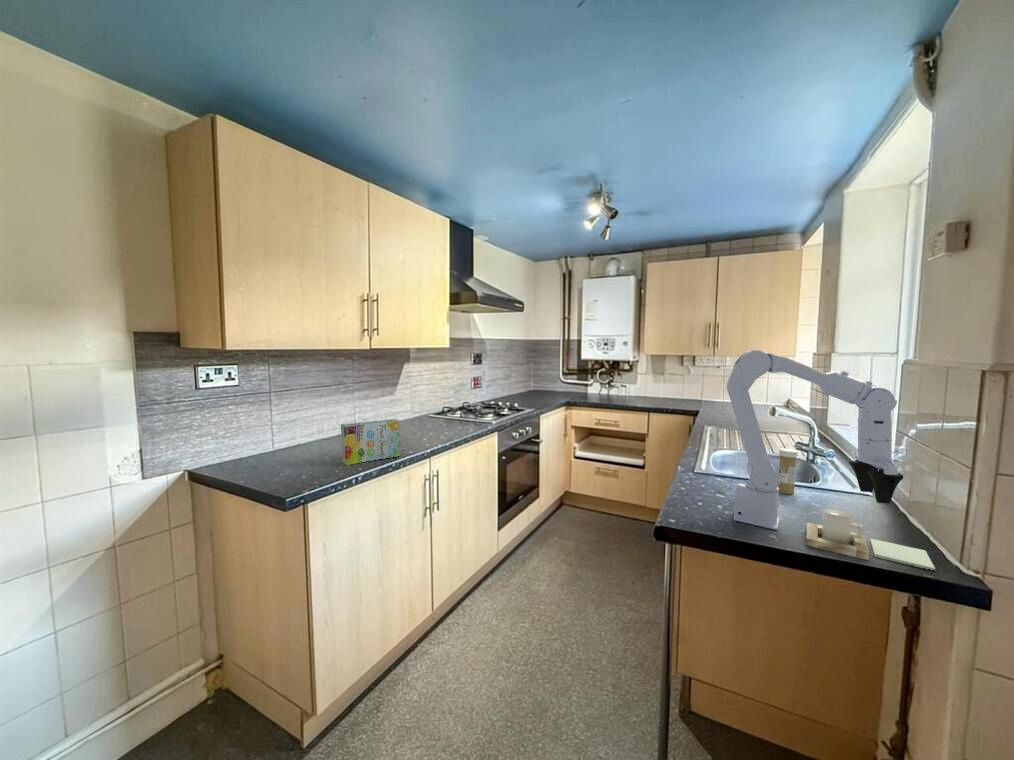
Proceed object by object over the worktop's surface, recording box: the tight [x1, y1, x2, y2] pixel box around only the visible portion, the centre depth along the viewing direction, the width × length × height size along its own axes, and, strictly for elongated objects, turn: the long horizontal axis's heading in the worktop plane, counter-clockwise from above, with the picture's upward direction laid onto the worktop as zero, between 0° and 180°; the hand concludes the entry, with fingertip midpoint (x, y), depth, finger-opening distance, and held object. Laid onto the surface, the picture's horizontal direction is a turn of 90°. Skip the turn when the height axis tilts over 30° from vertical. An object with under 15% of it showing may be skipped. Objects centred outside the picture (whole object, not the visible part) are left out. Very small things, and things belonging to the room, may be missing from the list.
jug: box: [821, 508, 864, 545], centre depth 92 cm, size 7×5×7 cm
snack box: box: [340, 418, 401, 466], centre depth 156 cm, size 21×6×15 cm, turn 125°
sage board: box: [869, 538, 936, 571], centre depth 87 cm, size 9×9×1 cm
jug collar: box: [805, 522, 870, 561], centre depth 92 cm, size 11×11×2 cm
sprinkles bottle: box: [777, 447, 798, 495], centre depth 125 cm, size 5×5×14 cm
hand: (874, 496), depth 93 cm, fingers open, 7 cm apart
